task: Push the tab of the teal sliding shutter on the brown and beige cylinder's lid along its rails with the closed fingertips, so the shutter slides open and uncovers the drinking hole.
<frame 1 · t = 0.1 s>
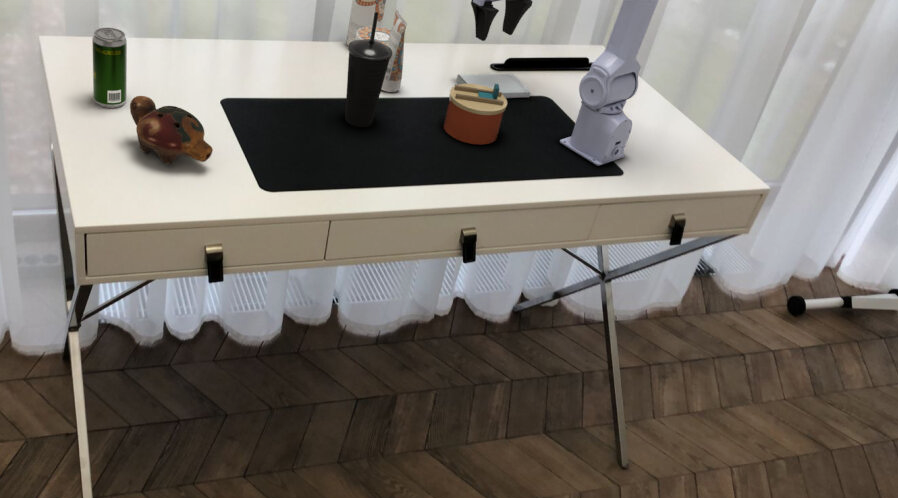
hand: (493, 35, 188), 10 cm above the table, tool pointing down, fingers open, 7 cm apart
hard drive: (492, 90, 193), on the table
decorative turtle: (169, 155, 154), on the table
drinking cup: (358, 121, 174), on the table
brown and beige cylinder: (470, 130, 177), on the table
beer can: (110, 102, 165), on the table
slider: (488, 91, 173), point 8 cm above the table, slide at 0.0 cm
cosmetic set: (374, 67, 192), on the table
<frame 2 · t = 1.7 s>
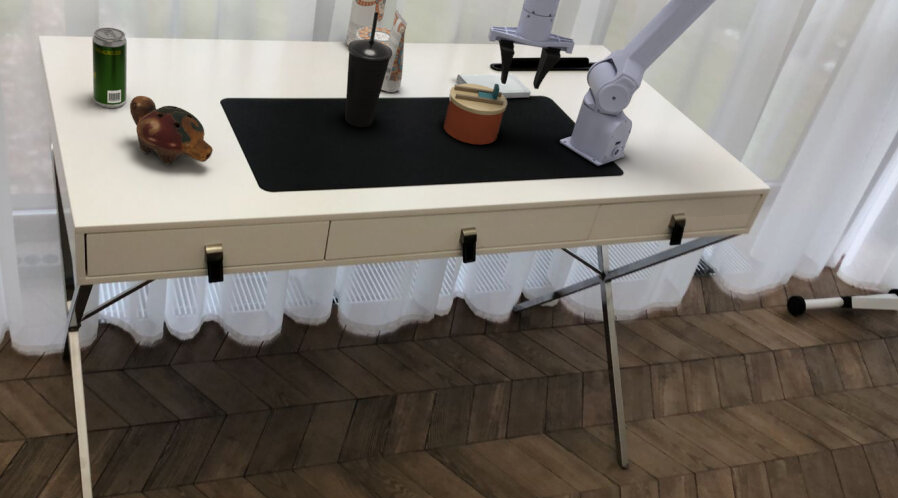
hand: (519, 84, 172), 10 cm above the table, tool pointing down, fingers open, 5 cm apart
nothing on the table moved.
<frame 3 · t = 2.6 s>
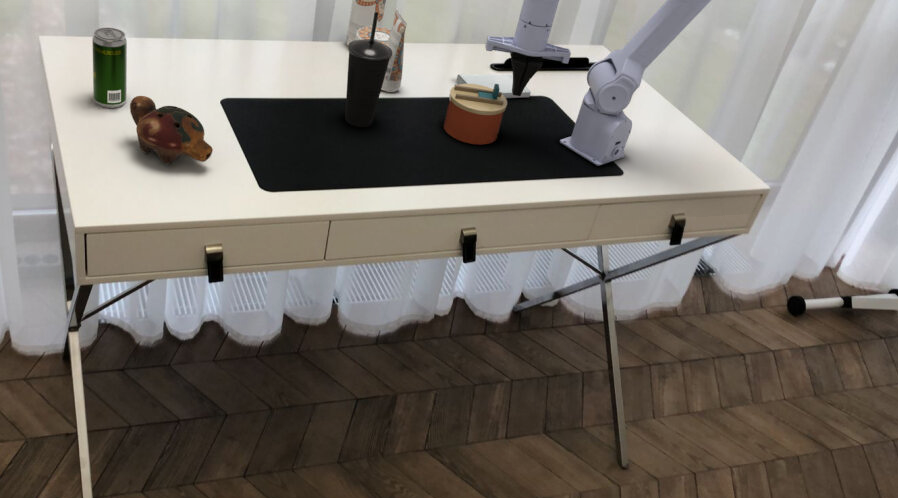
hand: (516, 93, 173), 9 cm above the table, tool pointing down, fingers closed
nothing on the table moved.
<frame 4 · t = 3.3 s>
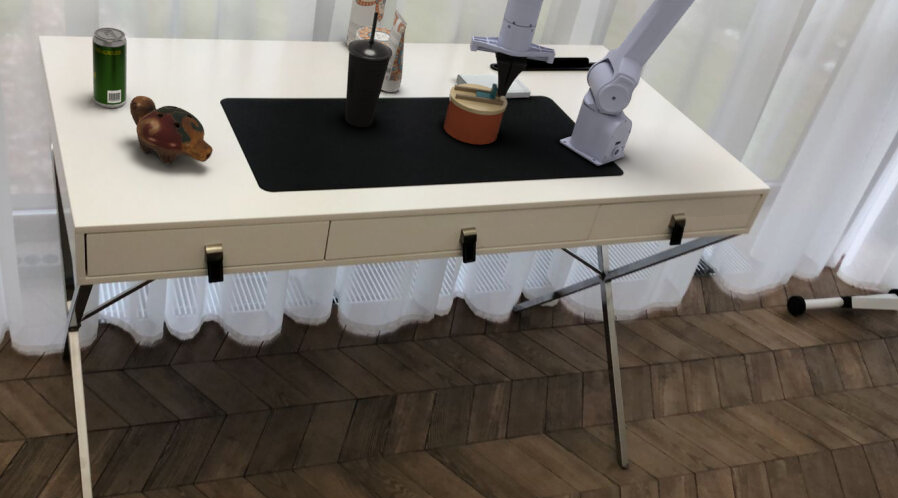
hand: (501, 93, 173), 8 cm above the table, tool pointing down, fingers closed
slider: (486, 91, 173), point 8 cm above the table, slide at 0.4 cm, touching gripper
everything else where it was.
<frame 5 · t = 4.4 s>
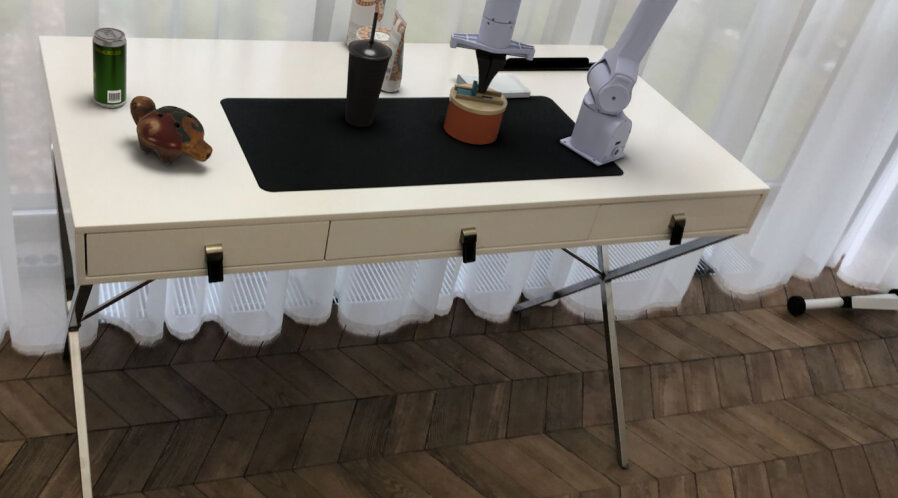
hand: (481, 90, 173), 8 cm above the table, tool pointing down, fingers closed
slider: (467, 88, 172), point 8 cm above the table, slide at 3.8 cm, touching gripper
everything else where it was.
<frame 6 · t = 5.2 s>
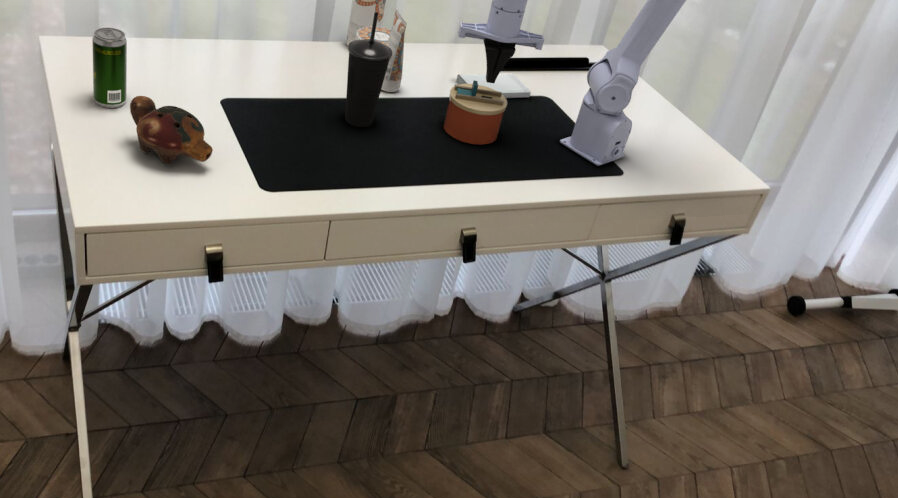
hand: (490, 80, 172), 10 cm above the table, tool pointing down, fingers closed
slider: (467, 88, 172), point 8 cm above the table, slide at 3.8 cm
everything else where it was.
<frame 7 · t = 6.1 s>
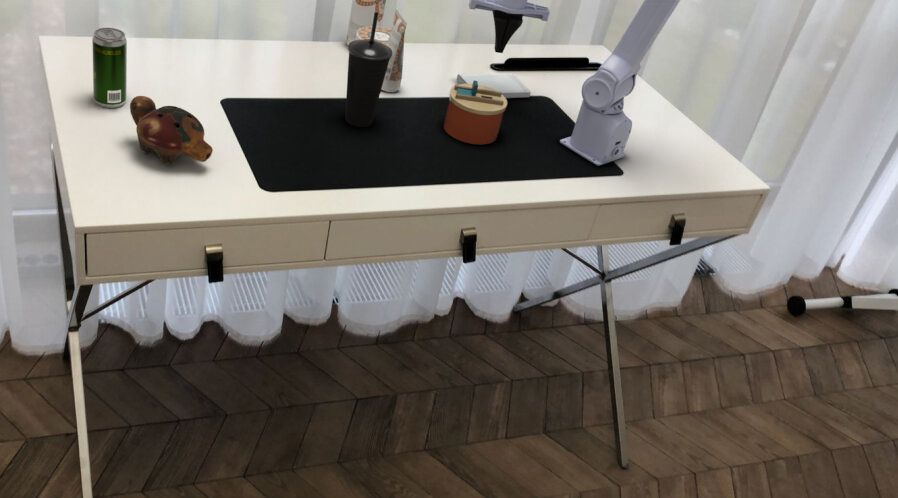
hand: (498, 50, 182), 10 cm above the table, tool pointing down, fingers closed
nothing on the table moved.
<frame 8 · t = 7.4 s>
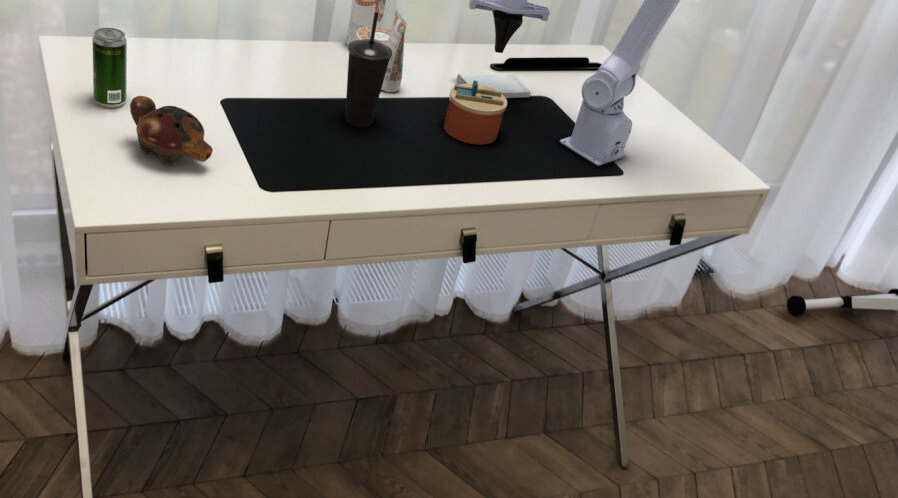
hand: (498, 50, 182), 10 cm above the table, tool pointing down, fingers closed
nothing on the table moved.
at the end: slider slide at 3.8 cm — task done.
